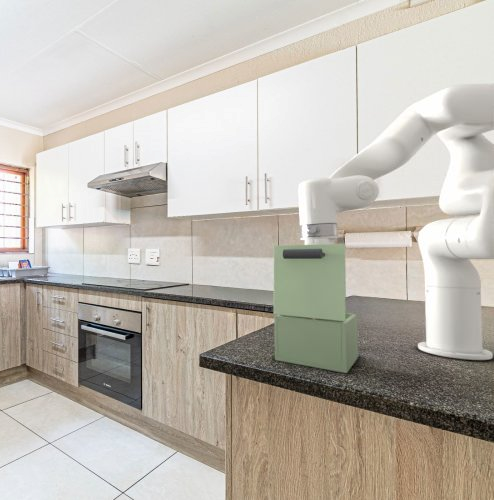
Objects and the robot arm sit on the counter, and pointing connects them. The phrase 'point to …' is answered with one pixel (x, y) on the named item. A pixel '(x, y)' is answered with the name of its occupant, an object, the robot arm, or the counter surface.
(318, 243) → the robot arm
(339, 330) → the chest
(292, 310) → the lid
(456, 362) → the counter surface
